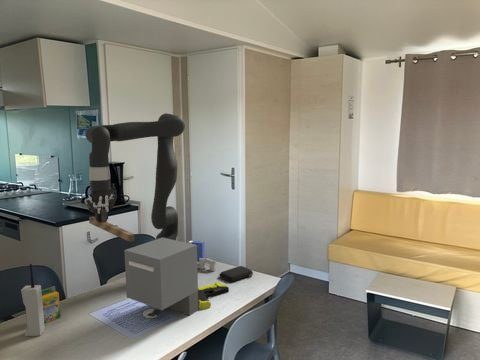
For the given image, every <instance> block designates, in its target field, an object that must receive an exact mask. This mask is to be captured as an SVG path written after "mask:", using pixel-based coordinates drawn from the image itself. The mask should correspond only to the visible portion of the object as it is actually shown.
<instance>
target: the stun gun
mask: <svg viewBox="0 0 480 360" xmlns="http://www.w3.org/2000/svg"><path fill="white" fill-rule="evenodd" d="M229 291H230V288H229V287H228V285H227V284H223V283H222V282H221V281H218V282H213V283H209V284H205V285H203V286H198V310H206V309H208V308H209V309H210V308H211V305H212V304H211V301H210V300H209V299H208V298H212V297H216V296H220V295H222V294H223V295H224V294H226V293H228V292H229Z"/></svg>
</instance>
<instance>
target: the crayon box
mask: <svg viewBox="0 0 480 360" xmlns="http://www.w3.org/2000/svg"><path fill="white" fill-rule="evenodd" d="M41 291H42V303H43V315H44V324H45V323H48V322H51V321H54V320H56V319H60V318H61V307H60V306H61V304H60V293H59V292H58V291H57V290H56V286H55V285H54V286H50V287H47V288H44V289H41ZM45 291H46V292H45Z"/></svg>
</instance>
